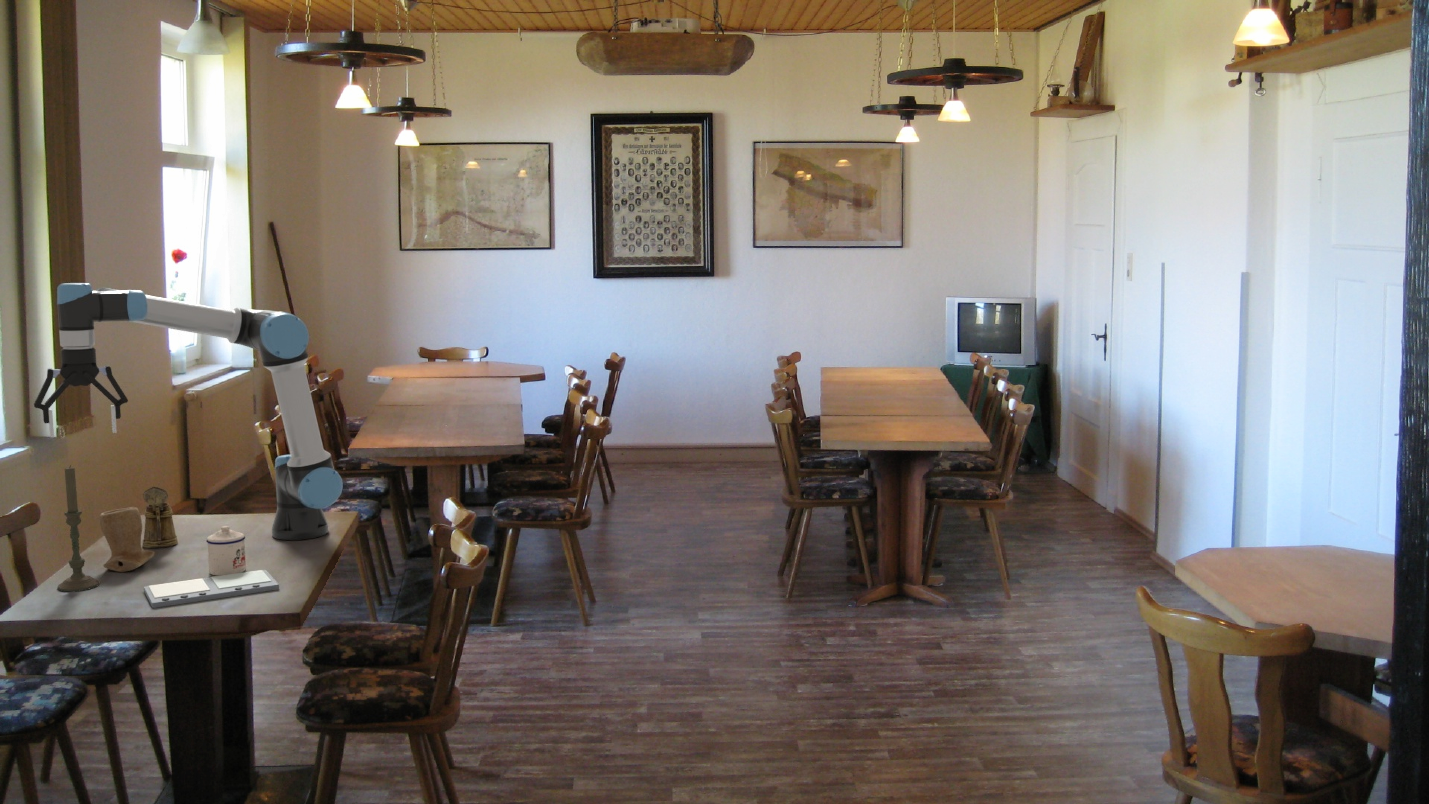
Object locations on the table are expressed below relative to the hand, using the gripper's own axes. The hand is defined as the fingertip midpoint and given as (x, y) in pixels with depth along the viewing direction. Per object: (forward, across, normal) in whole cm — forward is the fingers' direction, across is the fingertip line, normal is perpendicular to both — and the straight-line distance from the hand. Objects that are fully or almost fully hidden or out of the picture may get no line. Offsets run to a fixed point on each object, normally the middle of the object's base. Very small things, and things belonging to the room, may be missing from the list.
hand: (83, 434), depth 300 cm
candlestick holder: (+37, +3, +5) cm, 37 cm away
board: (+36, -24, +25) cm, 50 cm away
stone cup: (+37, -8, -10) cm, 39 cm away
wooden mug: (+36, -18, -26) cm, 48 cm away
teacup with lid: (+36, -31, +8) cm, 48 cm away
